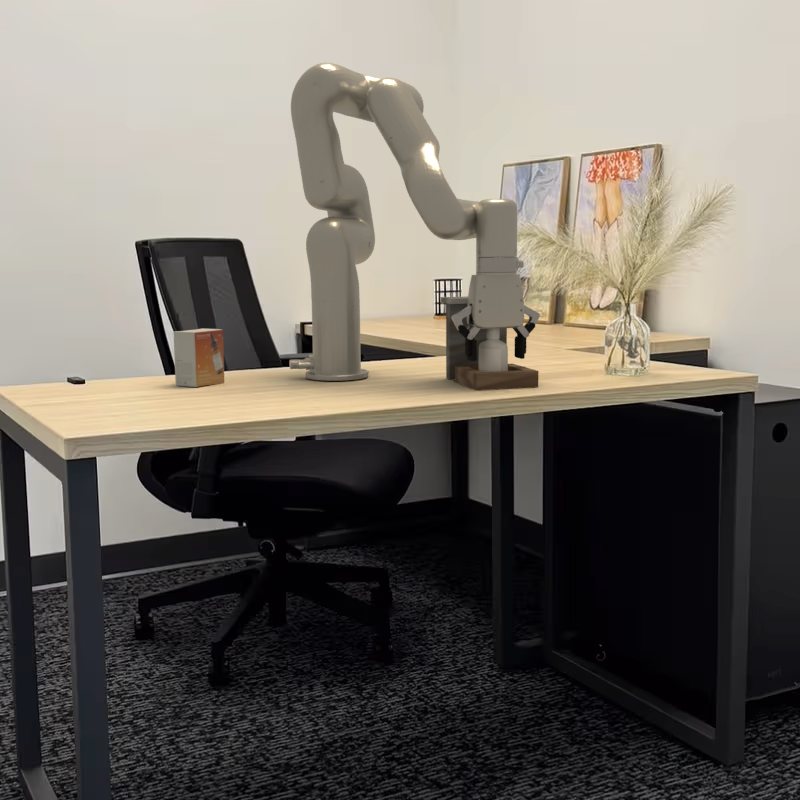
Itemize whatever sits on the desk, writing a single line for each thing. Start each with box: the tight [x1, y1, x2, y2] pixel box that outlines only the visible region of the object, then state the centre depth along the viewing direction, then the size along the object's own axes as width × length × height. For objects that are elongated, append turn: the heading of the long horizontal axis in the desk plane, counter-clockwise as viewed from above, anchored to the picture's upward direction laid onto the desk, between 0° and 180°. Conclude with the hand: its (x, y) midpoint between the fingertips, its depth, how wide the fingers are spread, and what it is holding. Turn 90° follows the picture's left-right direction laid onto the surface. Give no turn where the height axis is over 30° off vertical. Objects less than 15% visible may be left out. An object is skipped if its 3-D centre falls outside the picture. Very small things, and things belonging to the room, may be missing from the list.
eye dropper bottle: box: [479, 328, 509, 372], centre depth 181 cm, size 4×6×12 cm
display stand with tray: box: [440, 295, 540, 391], centre depth 184 cm, size 18×14×16 cm
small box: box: [173, 327, 225, 388], centre depth 186 cm, size 8×6×10 cm
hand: (495, 359), depth 182 cm, fingers open, 9 cm apart
